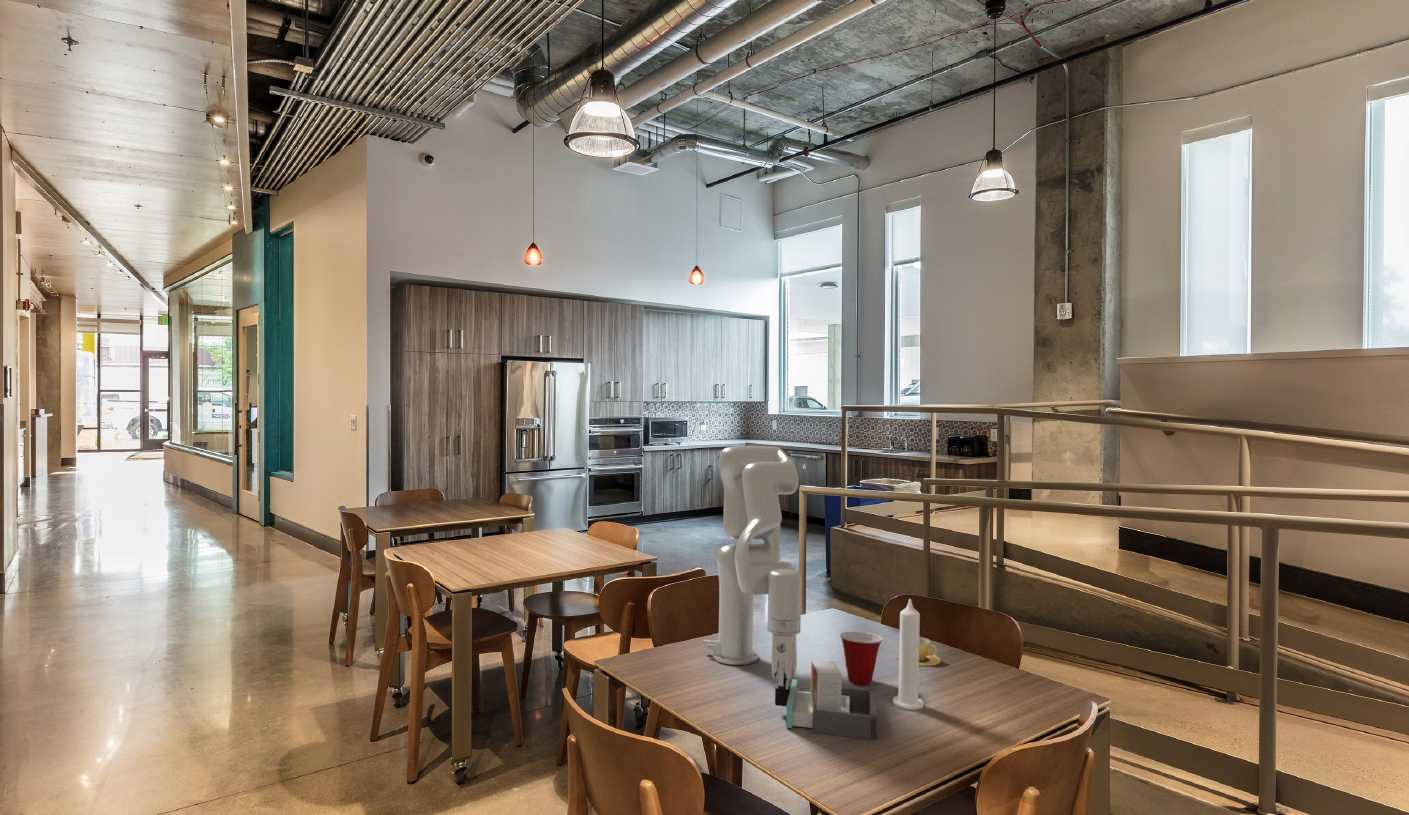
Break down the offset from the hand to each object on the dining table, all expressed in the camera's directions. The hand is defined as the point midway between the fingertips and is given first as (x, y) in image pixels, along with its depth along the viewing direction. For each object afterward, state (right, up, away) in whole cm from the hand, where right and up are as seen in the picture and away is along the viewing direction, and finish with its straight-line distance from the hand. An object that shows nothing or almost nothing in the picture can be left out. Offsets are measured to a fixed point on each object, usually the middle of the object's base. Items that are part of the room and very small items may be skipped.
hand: (782, 704), depth 165 cm
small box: (+9, -1, -2) cm, 10 cm away
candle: (+31, -3, +7) cm, 32 cm away
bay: (+13, -2, -3) cm, 14 cm away
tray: (+8, -2, -2) cm, 8 cm away
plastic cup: (+22, -3, +21) cm, 31 cm away
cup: (+43, -4, +39) cm, 58 cm away
